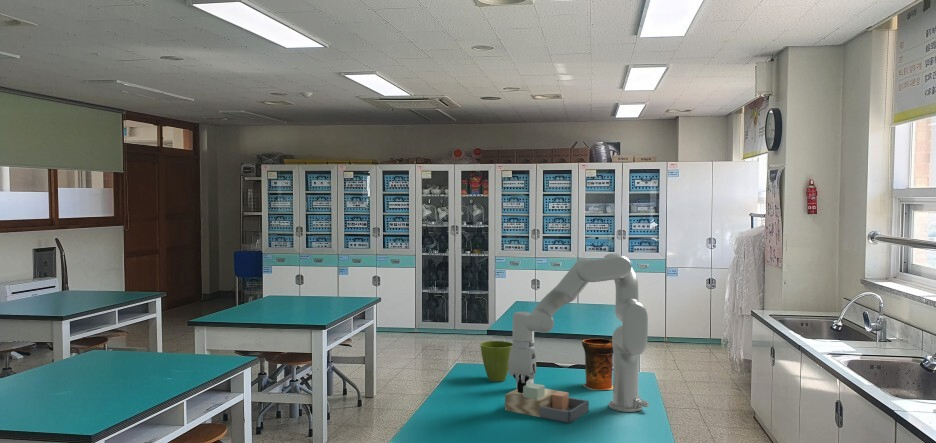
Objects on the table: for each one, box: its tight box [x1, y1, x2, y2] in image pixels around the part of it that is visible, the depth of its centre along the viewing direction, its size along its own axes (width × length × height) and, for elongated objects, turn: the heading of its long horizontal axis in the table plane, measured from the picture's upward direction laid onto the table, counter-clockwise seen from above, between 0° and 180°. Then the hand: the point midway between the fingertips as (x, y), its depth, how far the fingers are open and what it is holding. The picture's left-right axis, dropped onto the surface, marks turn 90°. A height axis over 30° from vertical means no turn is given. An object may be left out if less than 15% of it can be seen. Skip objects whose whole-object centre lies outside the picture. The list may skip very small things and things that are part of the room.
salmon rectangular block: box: [552, 390, 570, 411], centre depth 254 cm, size 6×6×4 cm
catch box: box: [539, 397, 590, 424], centre depth 249 cm, size 12×17×4 cm
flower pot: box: [479, 340, 512, 383], centre depth 298 cm, size 15×15×16 cm
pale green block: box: [523, 383, 546, 400], centre depth 251 cm, size 6×6×4 cm
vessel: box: [581, 337, 614, 391], centre depth 287 cm, size 14×14×20 cm
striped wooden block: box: [504, 388, 559, 418], centre depth 257 cm, size 15×16×6 cm
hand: (521, 392), depth 254 cm, fingers closed
